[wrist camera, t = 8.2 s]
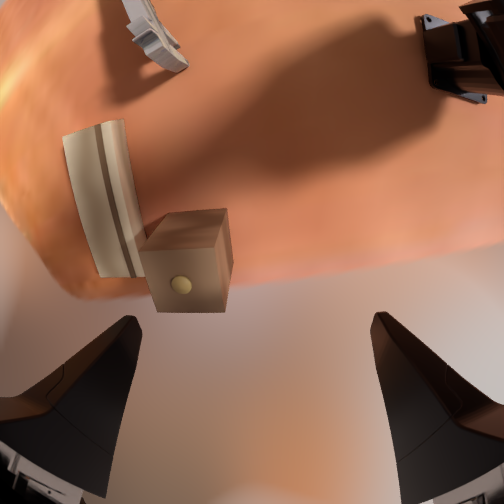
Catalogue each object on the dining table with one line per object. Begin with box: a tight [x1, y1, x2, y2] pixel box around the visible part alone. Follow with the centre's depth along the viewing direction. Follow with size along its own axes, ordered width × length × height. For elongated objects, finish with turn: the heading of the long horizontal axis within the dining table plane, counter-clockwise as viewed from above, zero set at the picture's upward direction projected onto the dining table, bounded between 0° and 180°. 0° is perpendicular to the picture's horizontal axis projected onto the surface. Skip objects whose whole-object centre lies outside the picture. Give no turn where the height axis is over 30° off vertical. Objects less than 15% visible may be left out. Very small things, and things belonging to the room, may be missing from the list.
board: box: [62, 119, 147, 278], centre depth 18 cm, size 4×12×2 cm, turn 4°
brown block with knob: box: [138, 208, 233, 313], centre depth 18 cm, size 4×4×6 cm
